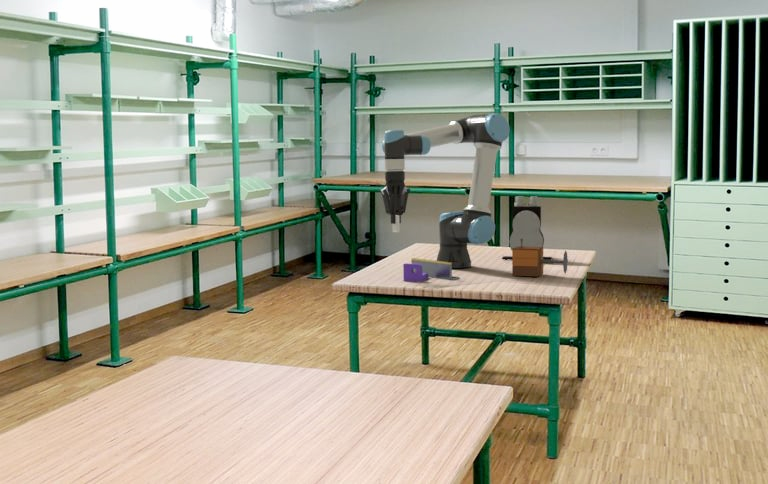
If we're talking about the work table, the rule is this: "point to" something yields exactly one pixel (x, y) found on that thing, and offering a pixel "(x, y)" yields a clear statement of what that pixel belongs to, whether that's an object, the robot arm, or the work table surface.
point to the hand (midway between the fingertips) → (396, 232)
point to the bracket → (414, 273)
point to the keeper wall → (435, 268)
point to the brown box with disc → (531, 261)
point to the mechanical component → (526, 224)
